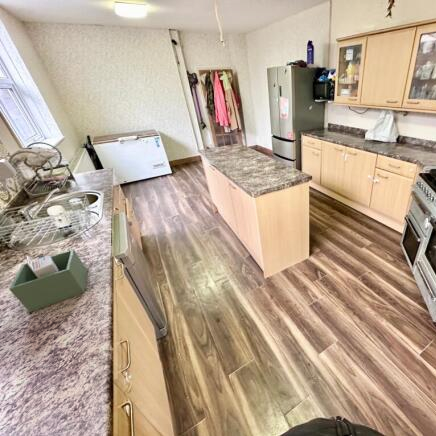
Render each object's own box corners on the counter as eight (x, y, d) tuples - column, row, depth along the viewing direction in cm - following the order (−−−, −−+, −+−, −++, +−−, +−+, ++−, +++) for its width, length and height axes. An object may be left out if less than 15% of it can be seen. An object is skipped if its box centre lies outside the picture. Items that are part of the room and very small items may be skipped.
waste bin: (29, 312, 78) (8, 289, 72) (39, 286, 88) (22, 264, 83) (84, 292, 85) (68, 269, 79) (87, 270, 95) (73, 249, 90)
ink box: (70, 289, 85) (47, 257, 78) (52, 297, 82) (27, 265, 75) (66, 278, 90) (44, 247, 83) (49, 286, 87) (25, 254, 80)
